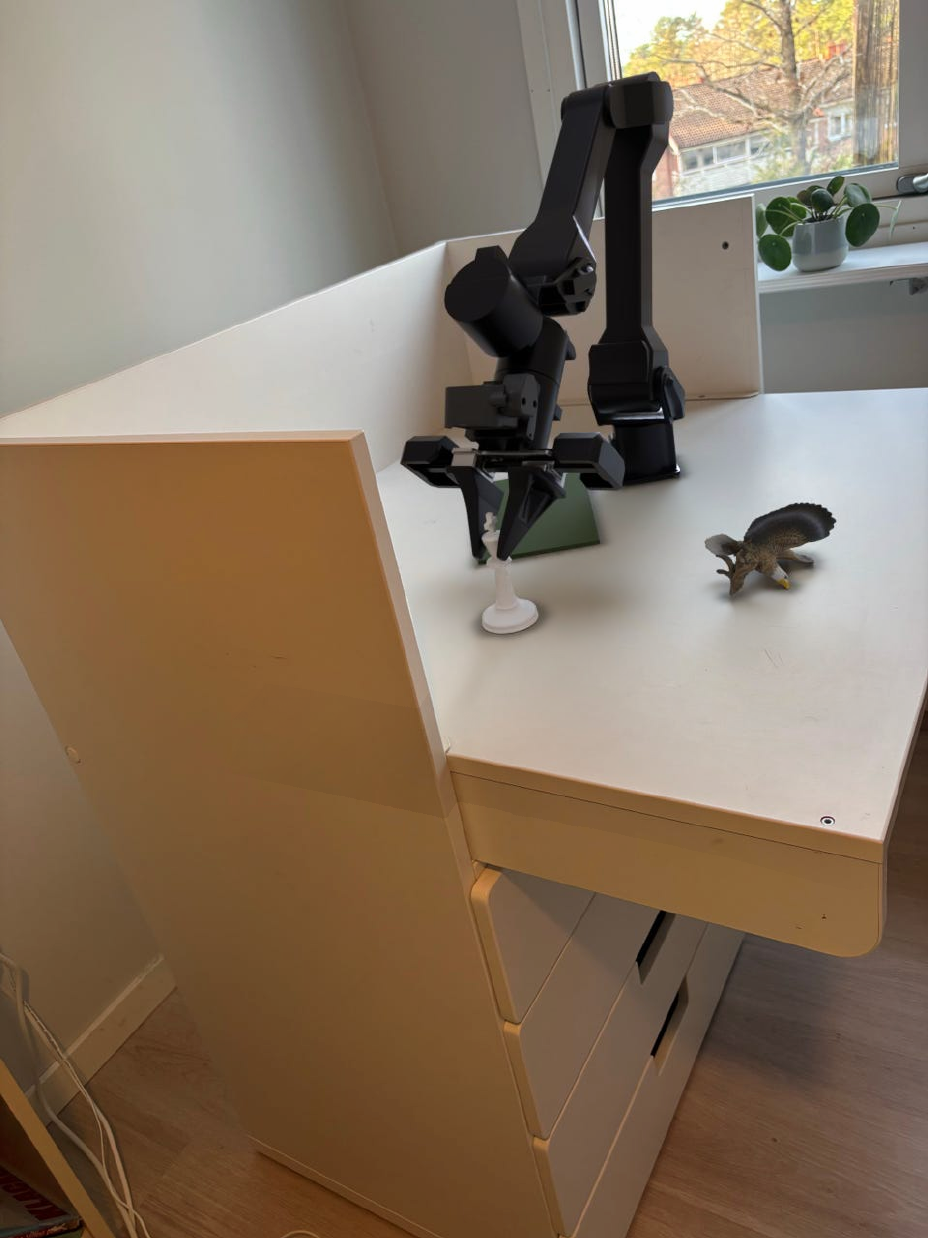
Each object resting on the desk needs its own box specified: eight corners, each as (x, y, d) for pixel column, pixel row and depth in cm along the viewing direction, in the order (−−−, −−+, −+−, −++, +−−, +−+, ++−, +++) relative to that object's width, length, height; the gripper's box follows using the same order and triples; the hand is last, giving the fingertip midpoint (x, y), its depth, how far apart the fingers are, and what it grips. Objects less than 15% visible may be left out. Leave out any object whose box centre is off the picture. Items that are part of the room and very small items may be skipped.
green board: (581, 468, 110) (581, 465, 109) (600, 543, 90) (599, 539, 90) (482, 486, 111) (481, 483, 111) (478, 564, 92) (478, 560, 91)
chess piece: (546, 606, 81) (527, 500, 76) (526, 635, 77) (504, 525, 73) (495, 604, 83) (474, 501, 79) (473, 632, 80) (449, 526, 75)
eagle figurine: (785, 604, 71) (858, 541, 74) (730, 529, 71) (806, 469, 74) (731, 622, 78) (799, 564, 81) (681, 554, 78) (751, 498, 81)
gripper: (385, 344, 77) (341, 521, 74) (590, 326, 67) (549, 529, 65) (452, 405, 87) (415, 564, 84) (641, 397, 77) (607, 577, 74)
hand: (488, 558), depth 76 cm, fingers closed on chess piece
